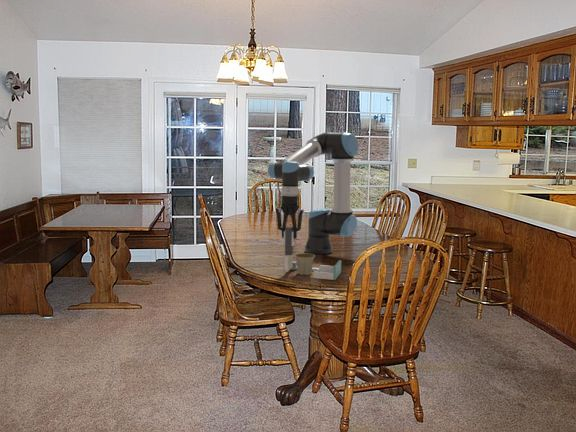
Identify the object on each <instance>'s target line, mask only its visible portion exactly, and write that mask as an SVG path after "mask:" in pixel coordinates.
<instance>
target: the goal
mask: <svg viewBox="0 0 576 432" xmlns="http://www.w3.org/2000/svg"><path fill="white" fill-rule="evenodd" d="M340 274H342V260H341V259H339V260H338V261H336V263H335V264H334V265H325V264H320V265H319V272H318V271H313V279H318V280H319V279H320V280H332V281H336V280H337V278H338V277H339V276H340Z"/></svg>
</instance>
